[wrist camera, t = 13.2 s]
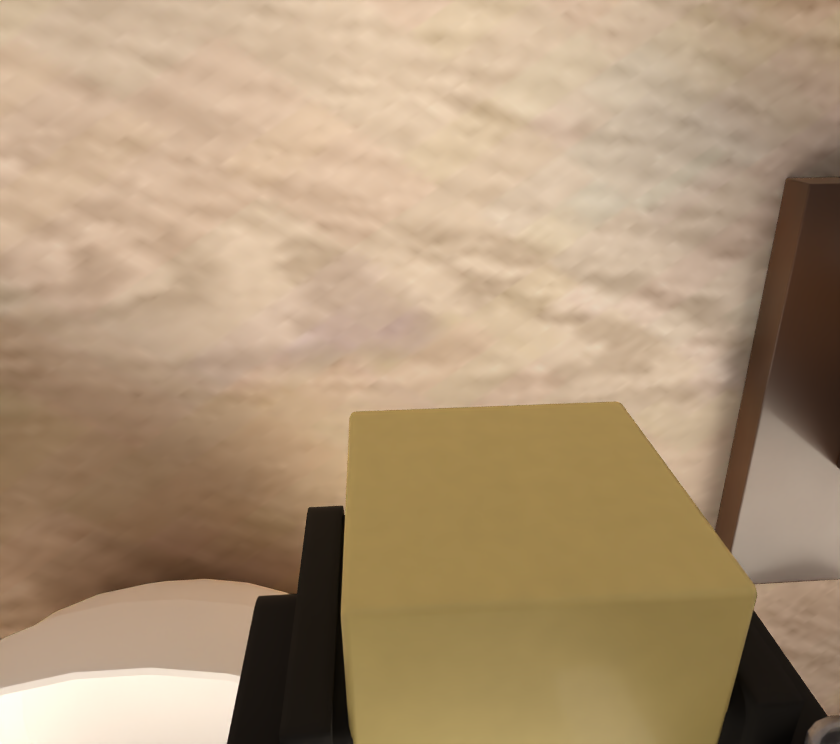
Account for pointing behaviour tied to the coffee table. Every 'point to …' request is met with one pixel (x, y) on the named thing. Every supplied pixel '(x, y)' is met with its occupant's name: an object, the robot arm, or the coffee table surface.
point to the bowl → (130, 666)
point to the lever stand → (791, 403)
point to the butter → (531, 583)
